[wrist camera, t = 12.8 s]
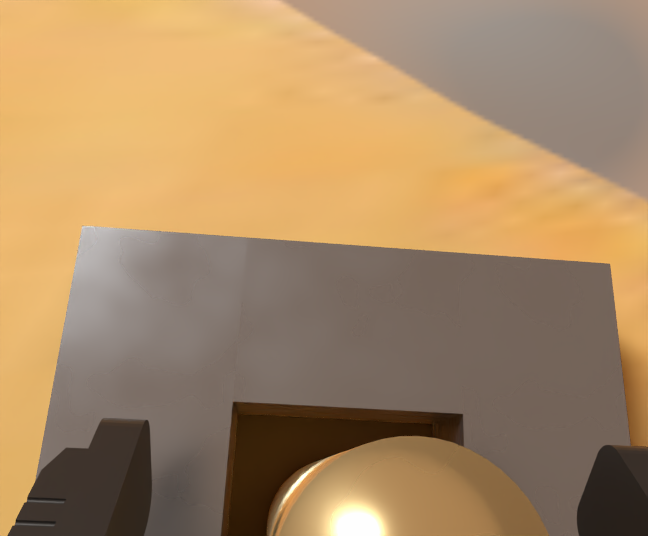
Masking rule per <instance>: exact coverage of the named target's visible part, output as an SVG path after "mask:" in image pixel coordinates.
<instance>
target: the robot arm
mask: <svg viewBox="0 0 648 536" xmlns="http://www.w3.org/2000/svg"><path fill="white" fill-rule="evenodd" d="M151 498H152V469H151V443H150V425H149V421H148V420H142V419H122V418H103V419H102V420H101V421H100V423H99V425H98V427H97V430H96V432H95V434H94V436H93V439H92V441H91V443H90V446H89V448H67V447H66V448H65V449H64V450H63V451H62V452H61V453H60V454H58V455H57V456H56V457H55V458H54V459H53V460H52V461H51V462H50V463H49V464H47V465H46V466H45V467H44V468H43V469H42V470H41V472H40V474H39V476H38V478H37V479H36V481H35V483H34V485H33V487H32V489H31V491H30V493H29V495H28V497H27V502H26V503H24V505H23V507H22V509H21V511H20V513H19V515H18V516H17V518H16V523H15V526H12V528H11V530H10V532H9V534H8V536H144V534H145V530H146V527H147V523H148V518H149V513H150V506H151ZM577 528H578V533H579V536H648V447H642V446H622V445H604V446H603V447H602V448H601V449H600V450H599V452H598V454H597V457H596V459H595V462H594V465H593V467H592V470H591V473H590V475H589V478H588V481H587V483H586V486H585V489H584V491H583V494H582V497H581V499H580V502H579V505H578V509H577Z"/></svg>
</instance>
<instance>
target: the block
mask: <svg viewBox="0 0 648 536" xmlns="http://www.w3.org/2000/svg"><path fill="white" fill-rule="evenodd" d="M238 414H250V415H269V416H288V417H307V418H326V419H345V420H364V421H384V422H403V423H422V424H432V438H437V439H441V440H445V441H449V442H453V443H455V444H458V445H460V446H463V447H465V448H468V449H470V450H472V451H474V452H475V453H477V454H479V455H481V456H482V457H484V458H486V459H487V460H489V461H490V462H492V463H493V464H494V465H496V466H497V467H498V468H500V469H501V470H502V471H503V472H504V473H505V474H506V475H507V476H508V477H510V478H511V479H512V480H513V481H514V482H515V483H516V484H517V486H518V487H519V488H520V489H521V490H522V492H523V493H524V494H525V495H526V496H527V498H528V499H529V500H530V502H531V503H532V505H533V506H534V508H535V510H536V511H537V513H538V514H539V516H540V518H541V520H542V522H543V524H544V526H545V528H546V530H547V532H548V534H549V536H579V533H578V528H577V509H578V505H579V502H580V499H581V497H582V494H583V491H584V489H585V486H586V483H587V481H588V478H589V475H590V473H591V470H592V467H593V465H594V462H595V459H596V457H597V454H598V452H599V450H600V449H601V448H602V447H603V446H604V445H622V446H631V443H630V435H629V426H628V417H627V408H626V400H625V391H624V382H623V373H622V364H621V356H620V347H619V338H618V329H617V321H616V312H615V303H614V294H613V286H612V277H611V268H610V264H605V263H591V262H578V261H564V260H550V259H536V258H522V257H508V256H495V255H481V254H467V253H453V252H439V251H425V250H411V249H398V248H384V247H370V246H356V245H342V244H328V243H314V242H301V241H287V240H273V239H259V238H245V237H231V236H218V235H204V234H190V233H176V232H162V231H148V230H134V229H121V228H107V227H93V226H82V231H81V236H80V241H79V247H78V252H77V258H76V263H75V269H74V274H73V280H72V285H71V290H70V296H69V301H68V307H67V312H66V318H65V323H64V328H63V334H62V339H61V345H60V350H59V356H58V361H57V367H56V372H55V377H54V383H53V388H52V394H51V399H50V405H49V410H48V416H47V421H46V426H45V432H44V437H43V443H42V448H41V454H40V459H39V464H38V470H37V475H36V479H37V478H38V476H39V474H40V472H41V470H42V469H43V468H44V467H45V466H46V465H47V464H49V463H50V462H51V461H52V460H53V459H54V458H55V457H56V456H57V455H58V454H60V453H61V452H62V451H63V450H64V449H65V448H66V447H67V448H89V446H90V443H91V441H92V439H93V436H94V434H95V432H96V430H97V427H98V425H99V423H100V421H101V420H102V419H103V418H122V419H142V420H148V421H149V425H150V443H151V469H152V498H151V506H150V513H149V518H148V523H147V527H146V530H145V534H144V536H228V525H229V514H230V502H231V491H232V479H233V467H234V456H235V444H236V432H237V421H238Z"/></svg>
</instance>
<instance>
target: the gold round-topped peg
mask: <svg viewBox="0 0 648 536" xmlns="http://www.w3.org/2000/svg"><path fill="white" fill-rule="evenodd" d="M267 536H549V534H548V532H547V530H546V528H545V526H544V524H543V522H542V520H541V518H540V516H539V514H538V513H537V511H536V510H535V508H534V506H533V505H532V503H531V502H530V500H529V499H528V498H527V496H526V495H525V494H524V493H523V492H522V490H521V489H520V488H519V487H518V486H517V484H516V483H515V482H514V481H513V480H512V479H511V478H510V477H508V476H507V475H506V474H505V473H504V472H503V471H502V470H501V469H500V468H498V467H497V466H496V465H494V464H493V463H492V462H490V461H489V460H487V459H486V458H484V457H482V456H481V455H479V454H477V453H475V452H474V451H472V450H470V449H468V448H465V447H463V446H460V445H458V444H455V443H453V442H449V441H445V440H441V439H437V438H431V437H423V436H398V437H392V438H385V439H380V440H377V441H374V442H370V443H367V444H364V445H361V446H358V447H355V448H353V449H350V450H347V451H344V452H341V453H338V454H336V455H333V456H330V457H327V458H324V459H321V460H318V461H316V462H313V463H310V464H308V465H306V466H304V467H302V468H300V469H299V470H297V471H296V472H294V473H293V474H292V475H291V476H290V477H289V478H288V479H287V480H286V481H285V482H284V483H283V484H282V486H281V487H280V488H279V490H278V492H277V493H276V495H275V497H274V499H273V502H272V504H271V507H270V510H269V514H268V520H267Z"/></svg>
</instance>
